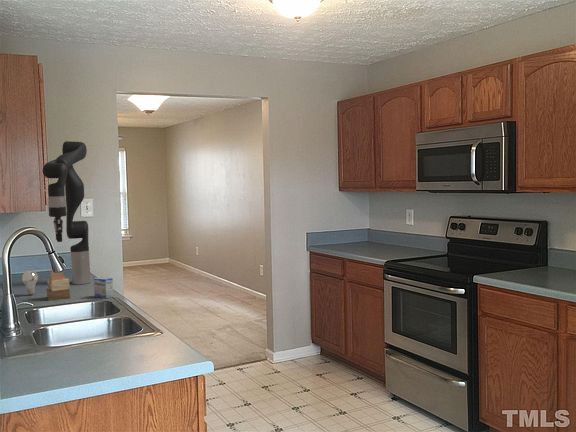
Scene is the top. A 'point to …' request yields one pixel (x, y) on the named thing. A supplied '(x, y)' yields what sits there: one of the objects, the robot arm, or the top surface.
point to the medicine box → (103, 287)
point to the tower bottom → (58, 294)
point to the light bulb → (30, 281)
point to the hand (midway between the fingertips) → (59, 240)
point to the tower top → (58, 284)
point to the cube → (56, 276)
